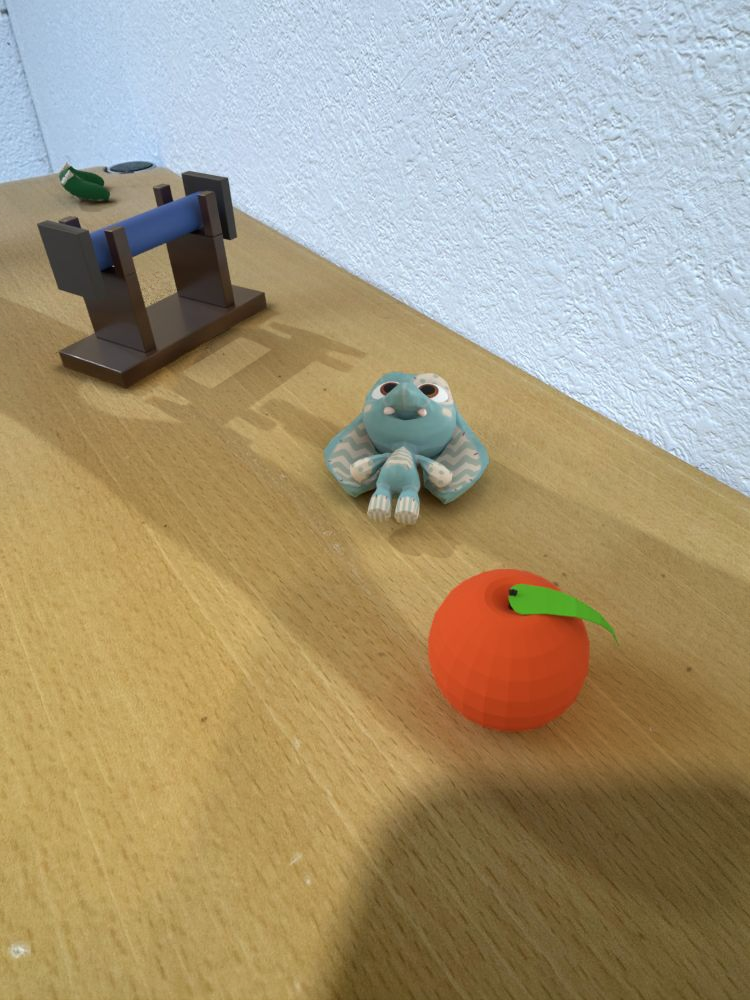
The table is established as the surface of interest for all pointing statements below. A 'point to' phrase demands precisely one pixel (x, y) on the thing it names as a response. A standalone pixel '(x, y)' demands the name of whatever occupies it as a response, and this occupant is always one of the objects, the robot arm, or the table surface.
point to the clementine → (511, 649)
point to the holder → (160, 303)
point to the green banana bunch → (83, 184)
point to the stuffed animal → (406, 447)
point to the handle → (131, 235)
